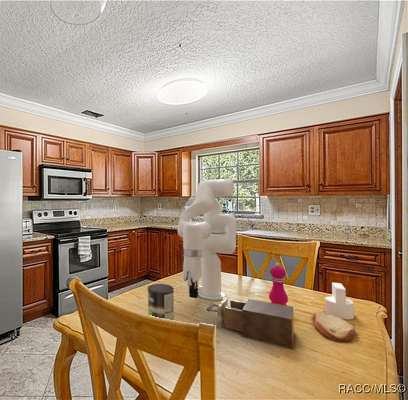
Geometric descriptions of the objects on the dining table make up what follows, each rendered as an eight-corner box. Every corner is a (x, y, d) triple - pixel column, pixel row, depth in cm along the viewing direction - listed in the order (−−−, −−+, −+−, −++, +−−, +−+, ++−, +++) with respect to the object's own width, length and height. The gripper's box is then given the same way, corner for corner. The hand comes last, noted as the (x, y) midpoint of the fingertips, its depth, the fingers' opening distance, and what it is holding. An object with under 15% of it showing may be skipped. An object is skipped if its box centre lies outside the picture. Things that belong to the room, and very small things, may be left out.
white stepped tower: (356, 321, 106) (355, 290, 107) (327, 316, 111) (326, 287, 111) (350, 312, 114) (350, 284, 114) (323, 308, 119) (323, 281, 119)
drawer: (204, 324, 105) (204, 303, 105) (212, 313, 114) (212, 295, 114) (258, 337, 94) (257, 314, 94) (262, 324, 103) (261, 304, 103)
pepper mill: (291, 311, 117) (290, 265, 117) (272, 310, 118) (271, 264, 118) (284, 305, 124) (282, 261, 124) (266, 304, 125) (265, 261, 125)
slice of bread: (320, 315, 113) (320, 305, 113) (375, 334, 96) (374, 324, 96) (289, 322, 107) (288, 312, 107) (341, 344, 90) (340, 333, 90)
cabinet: (242, 336, 96) (242, 309, 97) (248, 323, 107) (248, 298, 107) (292, 349, 88) (291, 319, 88) (293, 333, 98) (293, 306, 98)
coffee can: (151, 329, 103) (151, 292, 103) (145, 318, 113) (145, 284, 114) (178, 328, 104) (177, 291, 104) (169, 316, 114) (169, 283, 114)
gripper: (190, 249, 121) (190, 290, 121) (177, 255, 109) (178, 300, 109) (207, 251, 117) (208, 293, 117) (195, 257, 105) (196, 304, 105)
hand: (193, 297), depth 113 cm, fingers closed
